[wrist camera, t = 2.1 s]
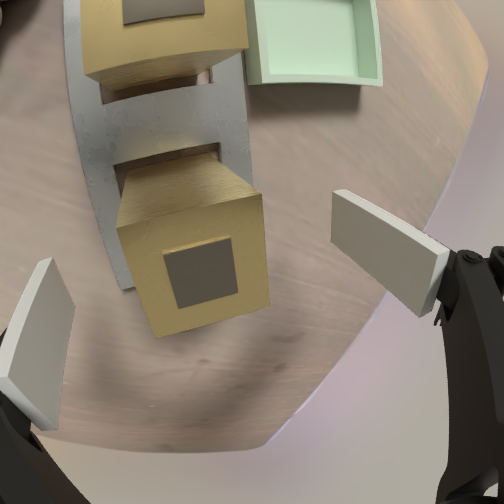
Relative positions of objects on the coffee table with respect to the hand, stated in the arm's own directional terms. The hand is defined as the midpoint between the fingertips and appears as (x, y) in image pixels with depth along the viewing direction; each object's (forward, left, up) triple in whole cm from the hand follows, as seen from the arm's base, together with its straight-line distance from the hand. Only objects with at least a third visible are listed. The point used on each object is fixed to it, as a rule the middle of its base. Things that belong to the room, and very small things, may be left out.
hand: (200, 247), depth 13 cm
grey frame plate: (0, +5, -7) cm, 8 cm away
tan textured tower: (0, +10, -7) cm, 12 cm away
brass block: (0, 0, -7) cm, 7 cm away
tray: (+10, +11, -7) cm, 16 cm away
